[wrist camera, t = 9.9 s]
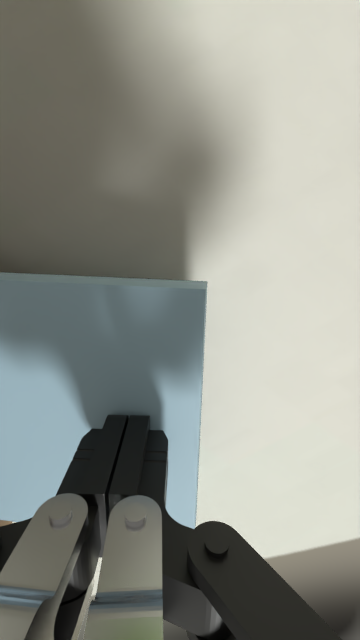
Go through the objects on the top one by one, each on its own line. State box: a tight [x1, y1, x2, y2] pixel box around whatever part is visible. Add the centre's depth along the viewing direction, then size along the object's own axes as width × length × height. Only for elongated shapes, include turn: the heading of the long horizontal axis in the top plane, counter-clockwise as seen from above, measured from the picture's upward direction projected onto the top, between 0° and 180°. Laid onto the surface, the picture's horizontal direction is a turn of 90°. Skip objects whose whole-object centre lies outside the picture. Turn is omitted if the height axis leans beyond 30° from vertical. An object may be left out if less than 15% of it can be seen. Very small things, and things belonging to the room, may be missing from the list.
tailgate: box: [0, 272, 207, 529], centre depth 13 cm, size 11×2×9 cm
